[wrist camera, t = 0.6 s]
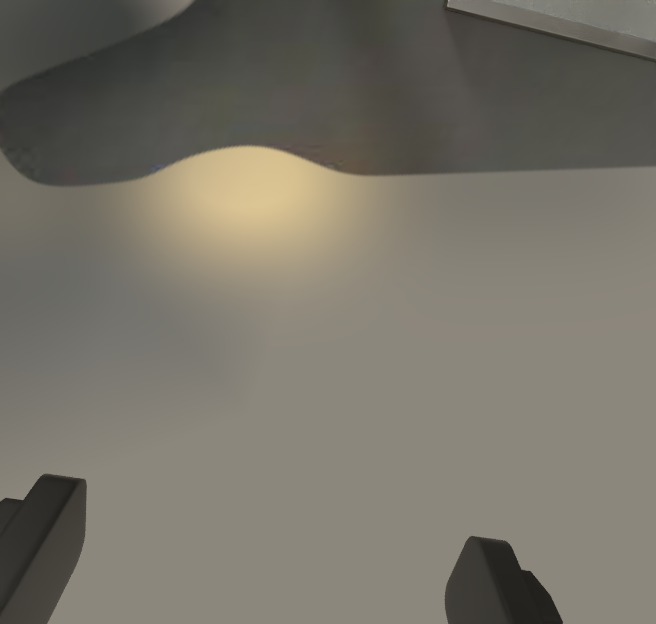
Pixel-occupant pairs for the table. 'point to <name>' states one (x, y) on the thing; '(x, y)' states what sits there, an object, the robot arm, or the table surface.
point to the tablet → (575, 21)
